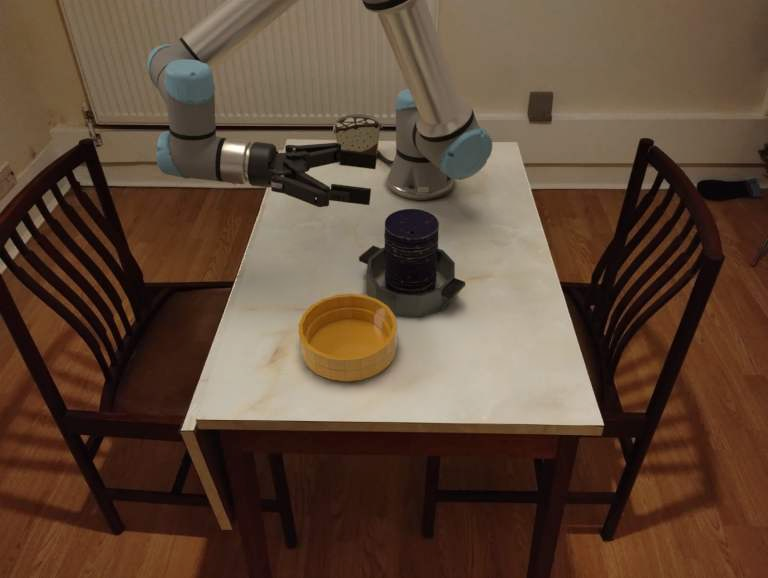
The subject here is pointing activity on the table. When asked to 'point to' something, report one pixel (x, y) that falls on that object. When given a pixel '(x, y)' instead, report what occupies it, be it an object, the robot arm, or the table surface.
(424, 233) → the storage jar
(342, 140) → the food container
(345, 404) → the table surface
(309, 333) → the bowl
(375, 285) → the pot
